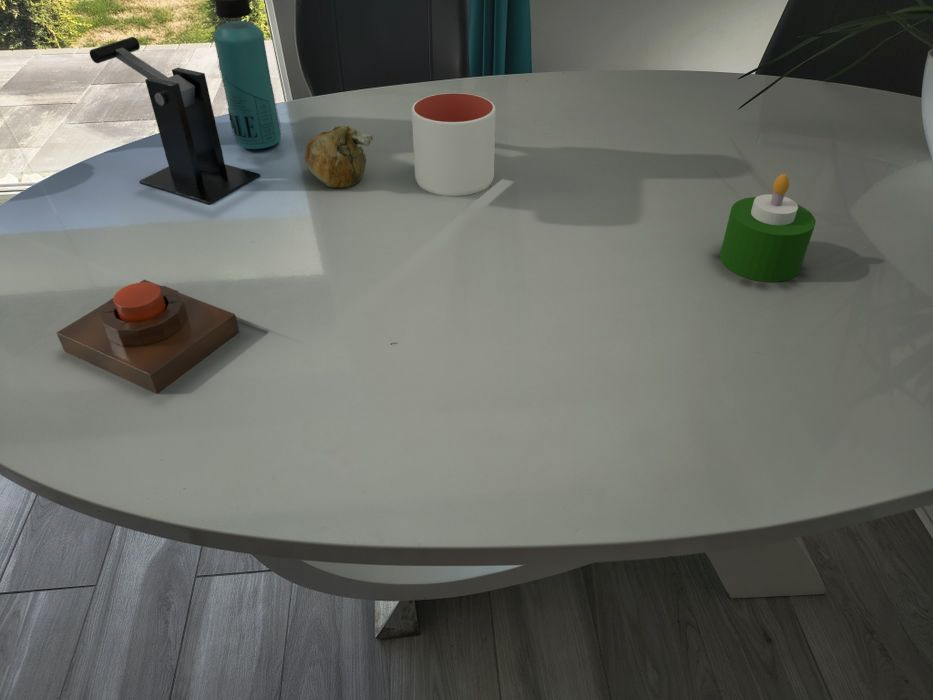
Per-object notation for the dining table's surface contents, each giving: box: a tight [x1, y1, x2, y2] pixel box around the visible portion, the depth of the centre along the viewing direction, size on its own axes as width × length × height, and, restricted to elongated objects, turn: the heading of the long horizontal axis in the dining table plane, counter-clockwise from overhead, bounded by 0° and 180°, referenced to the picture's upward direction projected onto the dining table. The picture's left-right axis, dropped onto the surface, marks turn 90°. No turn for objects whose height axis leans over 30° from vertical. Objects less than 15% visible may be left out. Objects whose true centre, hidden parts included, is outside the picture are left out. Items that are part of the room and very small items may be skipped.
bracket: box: [138, 67, 262, 206], centre depth 89 cm, size 12×9×14 cm
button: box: [112, 281, 166, 322], centre depth 65 cm, size 4×4×2 cm
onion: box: [304, 125, 374, 189], centre depth 91 cm, size 8×8×8 cm
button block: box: [56, 279, 240, 395], centre depth 67 cm, size 12×10×4 cm
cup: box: [411, 92, 496, 197], centre depth 90 cm, size 10×10×10 cm
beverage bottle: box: [212, 0, 283, 150], centre depth 96 cm, size 6×7×20 cm
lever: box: [89, 36, 195, 107], centre depth 87 cm, size 12×6×2 cm, turn 61°
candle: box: [719, 173, 816, 283], centre depth 76 cm, size 8×8×10 cm
